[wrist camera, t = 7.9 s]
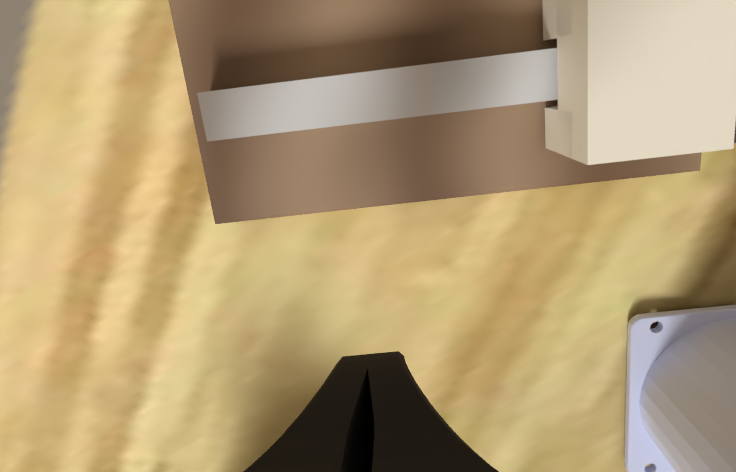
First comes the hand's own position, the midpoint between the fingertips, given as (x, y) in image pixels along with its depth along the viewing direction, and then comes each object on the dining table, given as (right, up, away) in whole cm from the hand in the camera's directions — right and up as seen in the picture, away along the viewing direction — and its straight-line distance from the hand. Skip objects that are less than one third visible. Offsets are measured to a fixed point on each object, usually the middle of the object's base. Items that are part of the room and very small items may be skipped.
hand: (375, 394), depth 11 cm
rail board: (+2, +9, +8) cm, 12 cm away
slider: (+8, +9, +6) cm, 14 cm away
